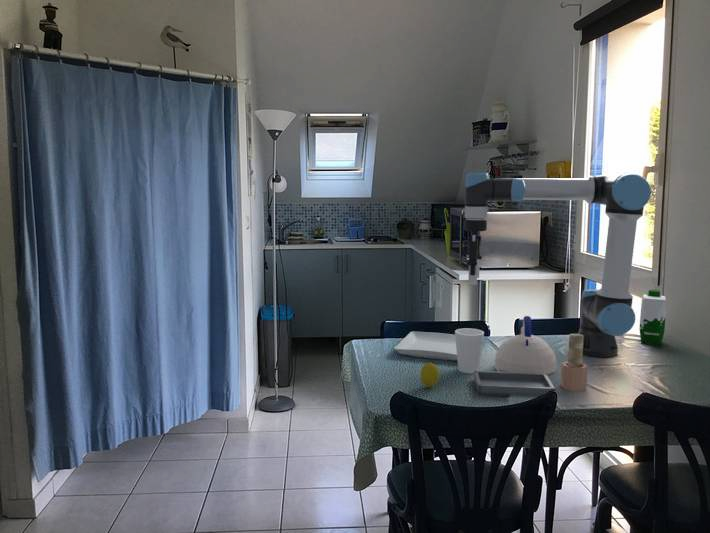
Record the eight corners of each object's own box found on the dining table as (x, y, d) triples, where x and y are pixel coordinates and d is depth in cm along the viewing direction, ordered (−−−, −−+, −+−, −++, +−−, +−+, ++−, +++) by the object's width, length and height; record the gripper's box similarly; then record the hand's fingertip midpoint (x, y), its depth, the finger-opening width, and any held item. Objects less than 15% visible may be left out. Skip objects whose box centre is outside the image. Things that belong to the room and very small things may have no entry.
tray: (545, 382, 199) (545, 373, 198) (554, 398, 185) (555, 388, 185) (473, 380, 201) (474, 370, 201) (477, 395, 187) (478, 385, 187)
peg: (578, 385, 194) (581, 333, 192) (581, 389, 190) (585, 337, 188) (564, 384, 194) (568, 333, 192) (568, 389, 190) (571, 336, 188)
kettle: (554, 362, 221) (557, 311, 218) (559, 381, 201) (562, 325, 198) (494, 358, 225) (496, 308, 223) (493, 376, 205) (495, 321, 203)
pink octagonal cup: (582, 386, 195) (583, 361, 194) (587, 394, 189) (589, 368, 187) (558, 386, 196) (560, 360, 195) (563, 393, 189) (565, 367, 188)
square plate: (470, 366, 217) (470, 355, 216) (392, 358, 225) (392, 347, 225) (481, 345, 242) (481, 335, 241) (411, 339, 251) (411, 329, 250)
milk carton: (662, 340, 250) (666, 290, 247) (663, 346, 241) (668, 294, 238) (638, 338, 253) (641, 288, 250) (638, 344, 245) (642, 292, 242)
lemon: (418, 385, 196) (419, 359, 195) (436, 384, 197) (437, 359, 195) (422, 391, 191) (422, 365, 189) (440, 390, 191) (441, 364, 190)
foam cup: (482, 375, 205) (483, 336, 204) (453, 373, 207) (454, 334, 205) (482, 366, 215) (484, 329, 213) (454, 365, 216) (455, 327, 215)
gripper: (467, 216, 228) (465, 275, 231) (461, 221, 204) (459, 287, 207) (488, 216, 226) (486, 275, 229) (485, 222, 202) (483, 288, 205)
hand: (473, 281), depth 218 cm, fingers open, 13 cm apart
